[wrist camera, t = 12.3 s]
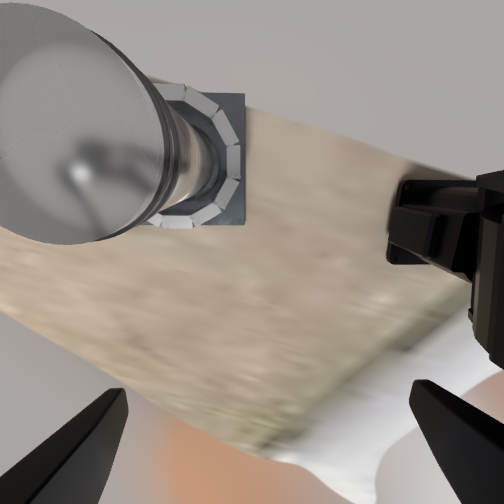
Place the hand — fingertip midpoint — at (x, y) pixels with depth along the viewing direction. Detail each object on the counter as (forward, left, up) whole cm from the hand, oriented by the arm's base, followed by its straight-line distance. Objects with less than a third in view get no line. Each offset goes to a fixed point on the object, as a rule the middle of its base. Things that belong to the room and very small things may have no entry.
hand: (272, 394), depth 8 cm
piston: (+5, -7, -12) cm, 15 cm away
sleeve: (+5, -7, -13) cm, 16 cm away
